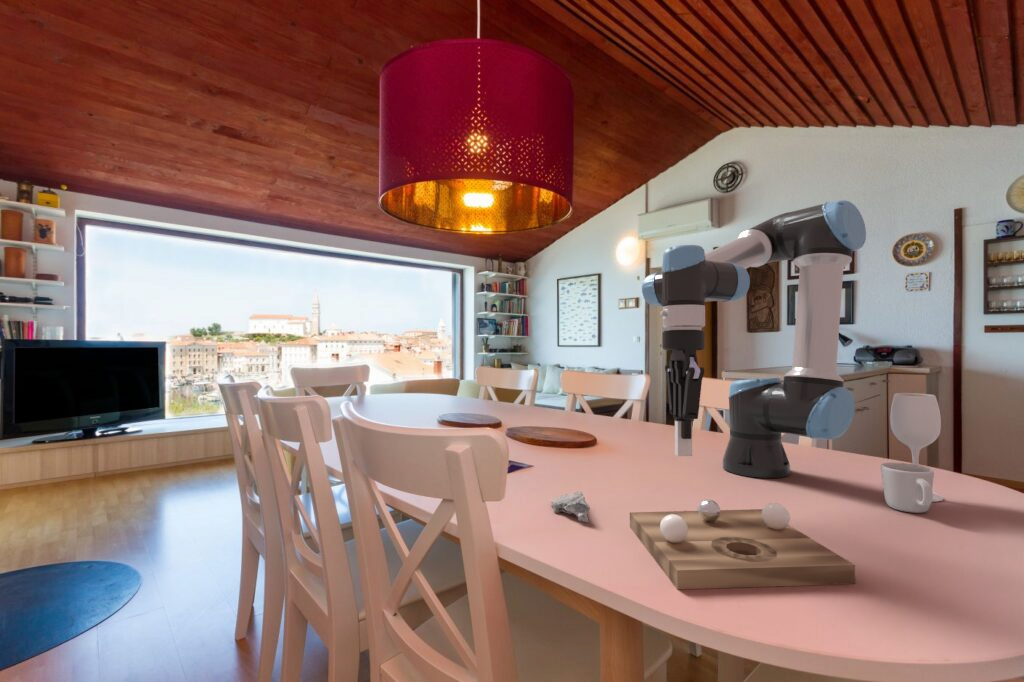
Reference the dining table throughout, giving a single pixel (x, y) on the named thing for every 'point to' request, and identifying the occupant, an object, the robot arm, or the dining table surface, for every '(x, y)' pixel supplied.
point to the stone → (572, 505)
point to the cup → (907, 486)
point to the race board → (739, 552)
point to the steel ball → (709, 510)
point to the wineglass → (916, 423)
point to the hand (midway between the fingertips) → (683, 455)
